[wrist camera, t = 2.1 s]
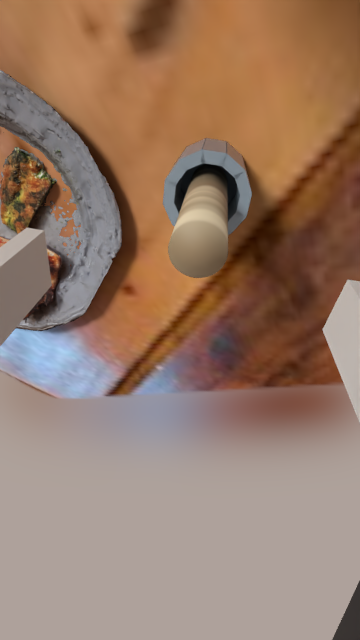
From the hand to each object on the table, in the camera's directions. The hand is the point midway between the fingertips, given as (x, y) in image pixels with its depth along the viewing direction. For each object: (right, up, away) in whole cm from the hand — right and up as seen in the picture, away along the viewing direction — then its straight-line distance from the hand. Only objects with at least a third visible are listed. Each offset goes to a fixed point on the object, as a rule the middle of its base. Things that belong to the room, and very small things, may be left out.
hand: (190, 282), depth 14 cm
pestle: (+2, +10, +12) cm, 16 cm away
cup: (+2, +10, +13) cm, 16 cm away
